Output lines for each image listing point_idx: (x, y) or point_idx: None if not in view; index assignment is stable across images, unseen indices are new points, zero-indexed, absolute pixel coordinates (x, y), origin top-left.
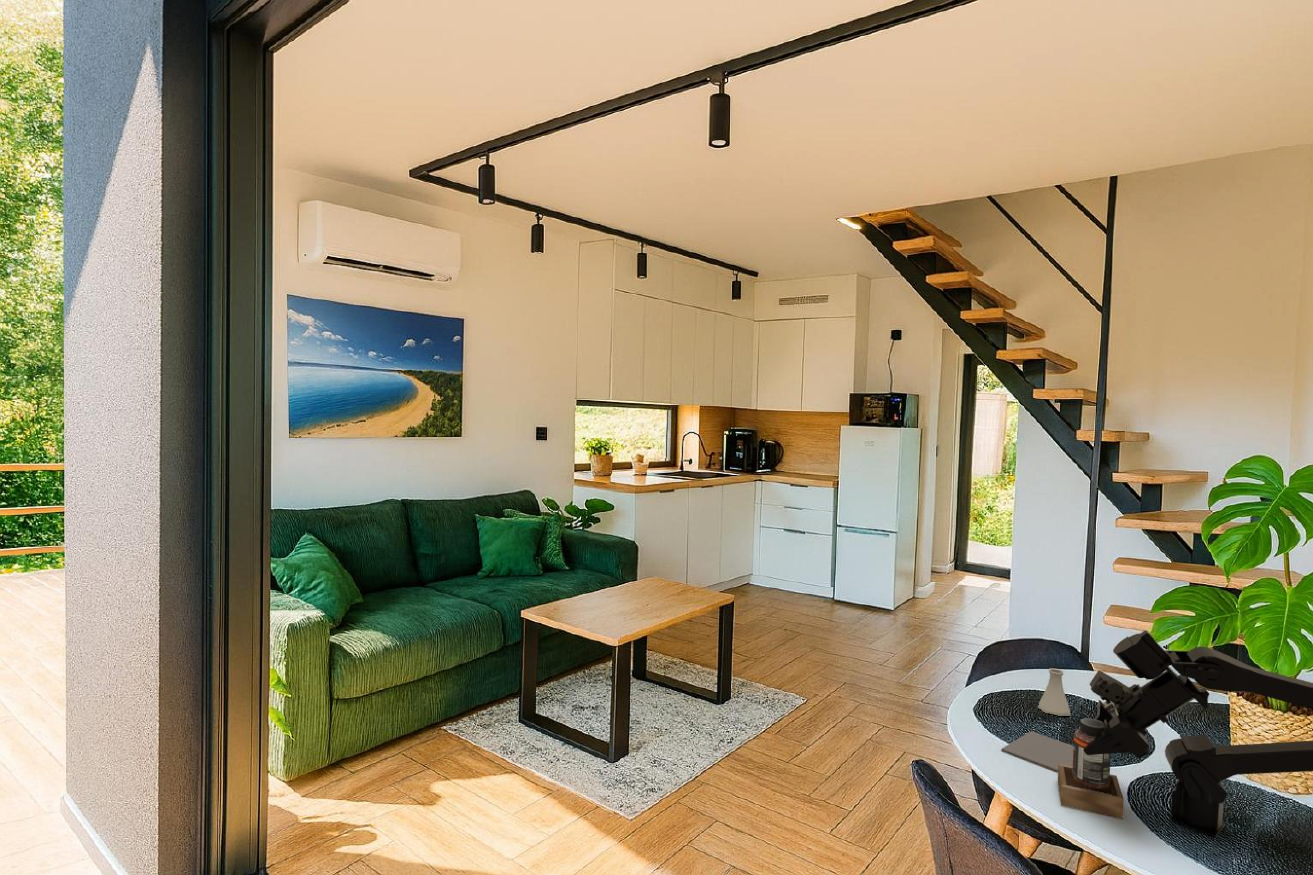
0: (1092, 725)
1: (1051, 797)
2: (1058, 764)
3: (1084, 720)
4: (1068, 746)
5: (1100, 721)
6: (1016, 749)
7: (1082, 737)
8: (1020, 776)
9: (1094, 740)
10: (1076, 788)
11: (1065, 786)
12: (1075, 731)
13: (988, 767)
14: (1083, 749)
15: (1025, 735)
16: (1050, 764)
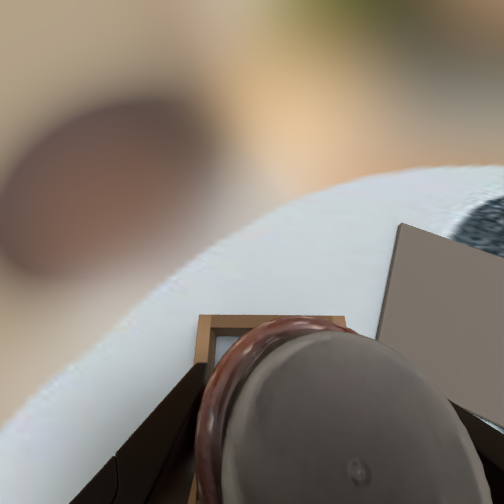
0: (256, 447)
1: (236, 308)
2: (340, 316)
3: (352, 365)
4: None
5: None
6: (423, 248)
7: (233, 353)
8: (302, 254)
9: (143, 436)
10: (202, 353)
11: (202, 323)
12: (321, 320)
13: (305, 206)
14: (202, 362)
15: None
16: (400, 313)
